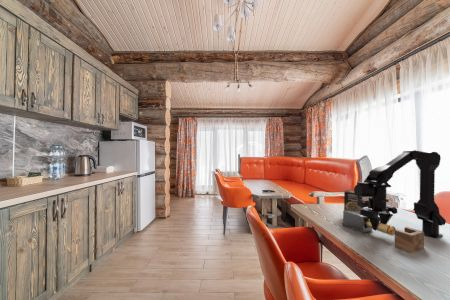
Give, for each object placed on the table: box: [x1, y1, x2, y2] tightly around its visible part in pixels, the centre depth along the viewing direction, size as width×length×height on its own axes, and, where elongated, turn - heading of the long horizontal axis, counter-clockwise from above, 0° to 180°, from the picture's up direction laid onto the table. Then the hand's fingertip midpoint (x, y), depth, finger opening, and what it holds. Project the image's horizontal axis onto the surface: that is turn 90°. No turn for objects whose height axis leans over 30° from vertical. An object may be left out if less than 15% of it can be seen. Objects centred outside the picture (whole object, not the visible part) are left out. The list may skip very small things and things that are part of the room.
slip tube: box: [365, 218, 397, 237], centre depth 102 cm, size 4×20×4 cm, turn 23°
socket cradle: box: [394, 226, 425, 254], centre depth 87 cm, size 9×6×7 cm, turn 113°
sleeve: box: [342, 209, 373, 234], centre depth 108 cm, size 7×11×8 cm, turn 23°
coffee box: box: [343, 189, 365, 212], centre depth 121 cm, size 9×6×16 cm
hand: (378, 229), depth 98 cm, fingers open, 5 cm apart
